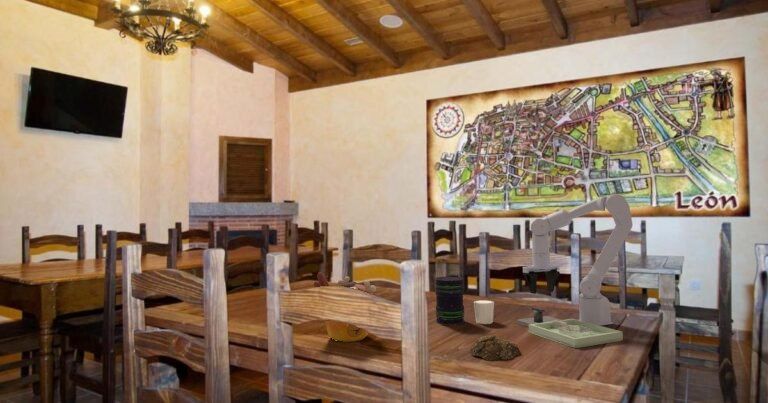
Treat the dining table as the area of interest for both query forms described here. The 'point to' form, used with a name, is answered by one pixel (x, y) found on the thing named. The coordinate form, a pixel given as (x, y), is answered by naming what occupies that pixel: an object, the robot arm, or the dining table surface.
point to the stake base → (530, 320)
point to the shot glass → (484, 311)
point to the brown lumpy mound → (494, 348)
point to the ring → (571, 329)
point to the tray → (597, 337)
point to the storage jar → (449, 300)
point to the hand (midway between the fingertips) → (541, 292)
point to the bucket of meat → (340, 329)
